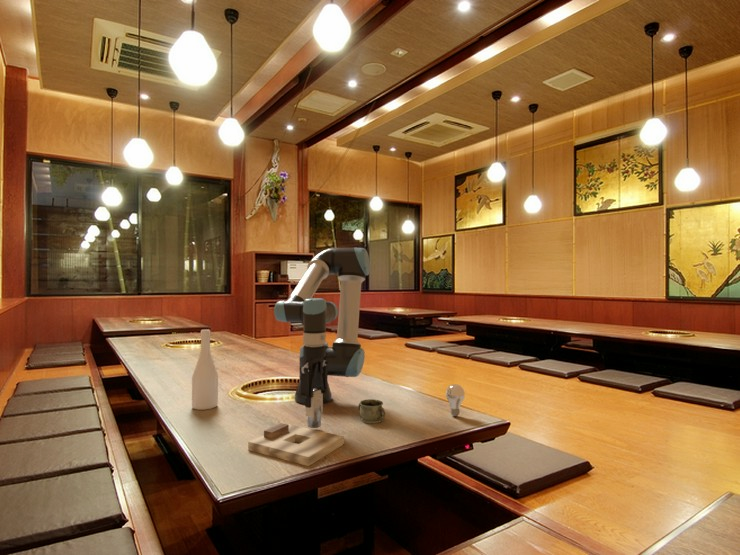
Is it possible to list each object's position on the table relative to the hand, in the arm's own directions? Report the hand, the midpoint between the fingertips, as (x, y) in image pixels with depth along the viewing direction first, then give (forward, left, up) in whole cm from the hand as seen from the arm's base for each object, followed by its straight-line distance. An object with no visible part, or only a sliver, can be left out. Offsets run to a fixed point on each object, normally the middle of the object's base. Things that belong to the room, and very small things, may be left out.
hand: (314, 414), depth 149 cm
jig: (+4, -15, -5) cm, 16 cm away
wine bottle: (-52, -1, -6) cm, 52 cm away
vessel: (+11, +19, -6) cm, 23 cm away
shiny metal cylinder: (0, 0, -4) cm, 4 cm away
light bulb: (+36, +38, -6) cm, 53 cm away
